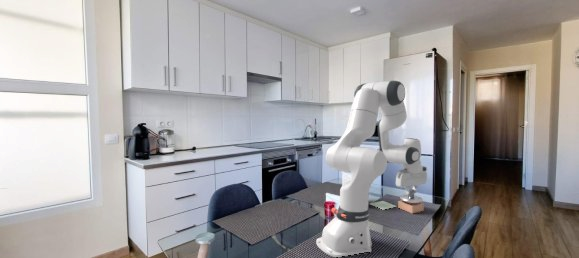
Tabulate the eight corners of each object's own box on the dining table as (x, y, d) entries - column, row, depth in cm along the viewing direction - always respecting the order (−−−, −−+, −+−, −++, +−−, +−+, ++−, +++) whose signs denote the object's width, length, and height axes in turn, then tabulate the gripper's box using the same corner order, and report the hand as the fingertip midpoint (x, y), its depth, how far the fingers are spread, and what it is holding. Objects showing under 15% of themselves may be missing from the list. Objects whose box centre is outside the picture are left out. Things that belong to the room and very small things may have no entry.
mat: (383, 210, 138) (383, 209, 138) (369, 204, 147) (369, 203, 147) (396, 207, 142) (396, 206, 142) (382, 201, 151) (382, 200, 151)
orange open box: (412, 213, 132) (412, 206, 132) (397, 208, 140) (398, 201, 140) (423, 211, 136) (423, 203, 136) (409, 205, 144) (409, 198, 144)
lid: (413, 204, 131) (413, 194, 130) (395, 198, 140) (395, 189, 140) (427, 201, 136) (427, 191, 135) (409, 195, 145) (409, 186, 145)
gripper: (402, 171, 130) (402, 197, 131) (429, 167, 139) (428, 192, 139) (392, 168, 135) (392, 194, 136) (419, 165, 144) (418, 189, 145)
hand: (411, 193), depth 138 cm, fingers closed on lid, 3 cm apart
